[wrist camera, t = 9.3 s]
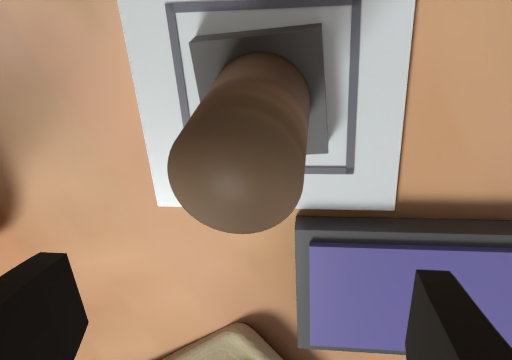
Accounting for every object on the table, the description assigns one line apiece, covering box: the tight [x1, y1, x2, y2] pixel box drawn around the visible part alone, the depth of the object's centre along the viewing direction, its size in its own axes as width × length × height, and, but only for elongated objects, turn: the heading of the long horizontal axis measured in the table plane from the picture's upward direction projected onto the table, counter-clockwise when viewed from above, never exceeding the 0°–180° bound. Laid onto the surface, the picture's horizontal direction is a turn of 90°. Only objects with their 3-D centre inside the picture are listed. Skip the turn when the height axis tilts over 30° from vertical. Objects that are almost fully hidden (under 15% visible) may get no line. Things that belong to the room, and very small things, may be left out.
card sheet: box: [117, 0, 415, 211], centre depth 17 cm, size 10×10×1 cm
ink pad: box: [295, 216, 512, 355], centre depth 20 cm, size 10×7×1 cm
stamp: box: [167, 23, 329, 234], centre depth 14 cm, size 4×4×6 cm
